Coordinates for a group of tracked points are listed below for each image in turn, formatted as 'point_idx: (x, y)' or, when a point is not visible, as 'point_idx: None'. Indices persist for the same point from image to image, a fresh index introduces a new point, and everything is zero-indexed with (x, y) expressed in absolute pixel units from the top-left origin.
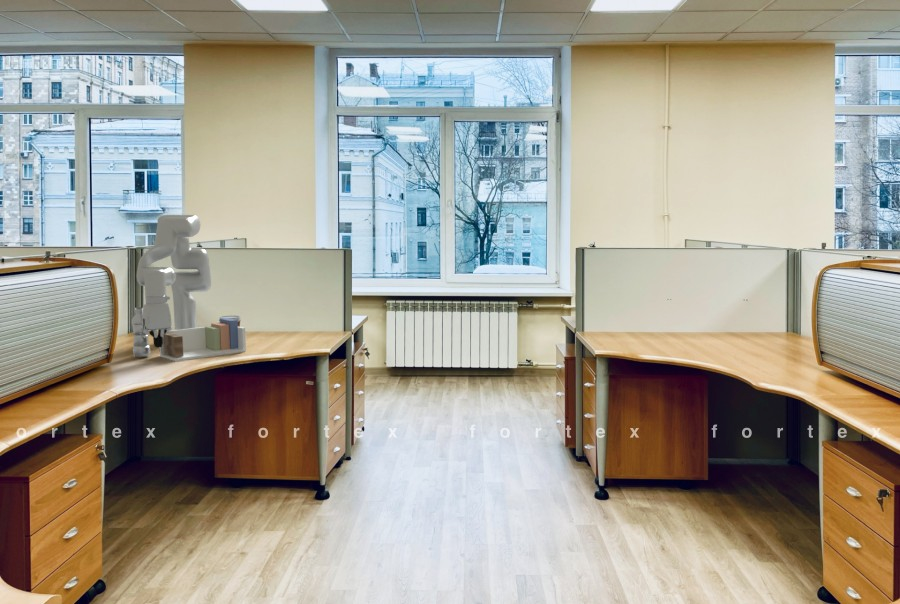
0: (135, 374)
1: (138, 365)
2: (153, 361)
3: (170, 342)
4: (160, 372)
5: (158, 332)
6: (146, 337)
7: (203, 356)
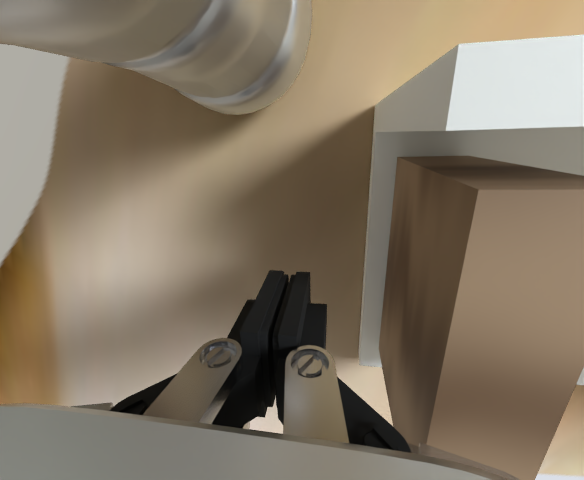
0: None
1: (170, 308)
2: (264, 264)
3: (408, 352)
4: None
5: (284, 406)
6: (206, 49)
7: None
